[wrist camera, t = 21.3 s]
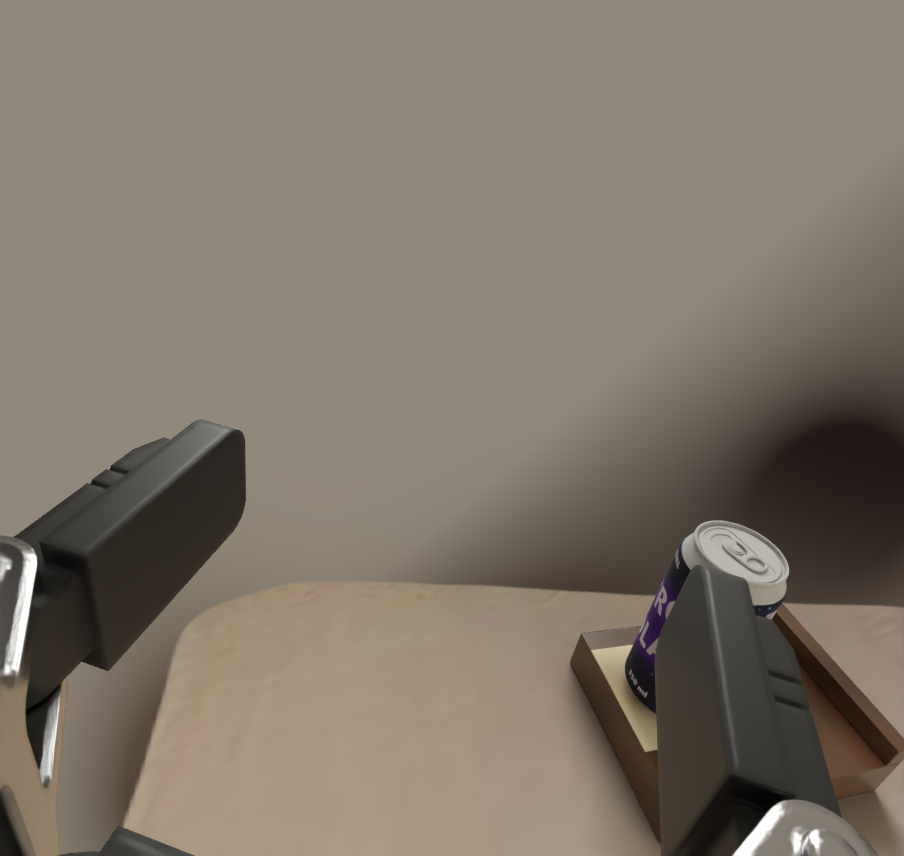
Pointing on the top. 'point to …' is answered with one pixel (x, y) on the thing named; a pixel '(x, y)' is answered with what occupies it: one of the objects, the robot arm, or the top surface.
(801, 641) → the wooden serving tray
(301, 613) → the top surface
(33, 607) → the robot arm
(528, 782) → the top surface
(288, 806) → the top surface
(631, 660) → the beverage can
